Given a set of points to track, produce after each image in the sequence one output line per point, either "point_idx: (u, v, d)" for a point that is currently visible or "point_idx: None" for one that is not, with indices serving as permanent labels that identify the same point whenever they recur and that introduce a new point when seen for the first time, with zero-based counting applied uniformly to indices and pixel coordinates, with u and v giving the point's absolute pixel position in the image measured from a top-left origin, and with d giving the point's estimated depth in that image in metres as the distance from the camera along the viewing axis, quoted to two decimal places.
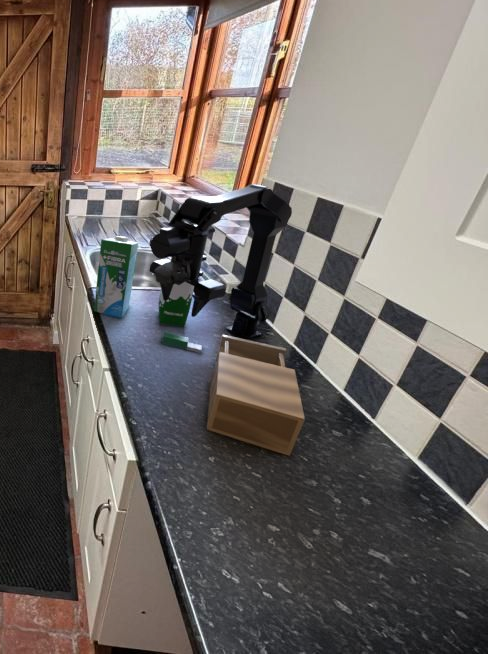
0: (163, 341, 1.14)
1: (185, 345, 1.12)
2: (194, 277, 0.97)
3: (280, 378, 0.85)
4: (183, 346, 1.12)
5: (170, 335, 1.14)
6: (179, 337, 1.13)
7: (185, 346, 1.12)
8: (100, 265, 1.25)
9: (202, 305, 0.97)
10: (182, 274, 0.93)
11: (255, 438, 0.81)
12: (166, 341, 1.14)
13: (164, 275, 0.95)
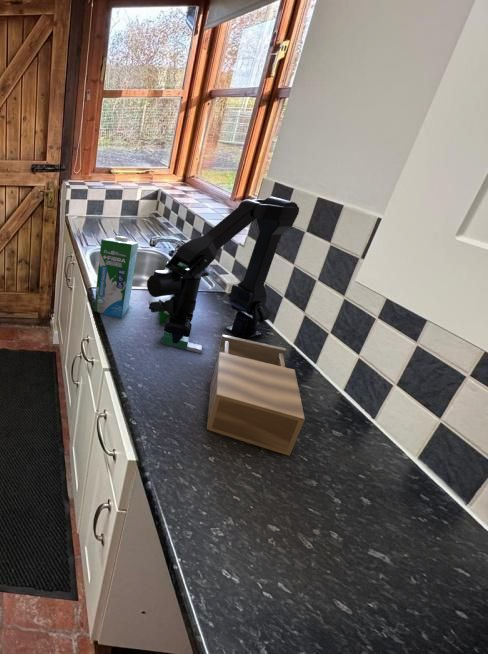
0: (163, 341, 1.14)
1: (185, 345, 1.12)
2: (179, 314, 1.07)
3: (280, 378, 0.85)
4: (183, 346, 1.12)
5: (170, 335, 1.14)
6: None
7: (185, 346, 1.12)
8: (100, 265, 1.25)
9: (179, 335, 1.10)
10: (156, 303, 1.08)
11: (255, 438, 0.81)
12: (166, 341, 1.14)
13: (149, 300, 1.12)
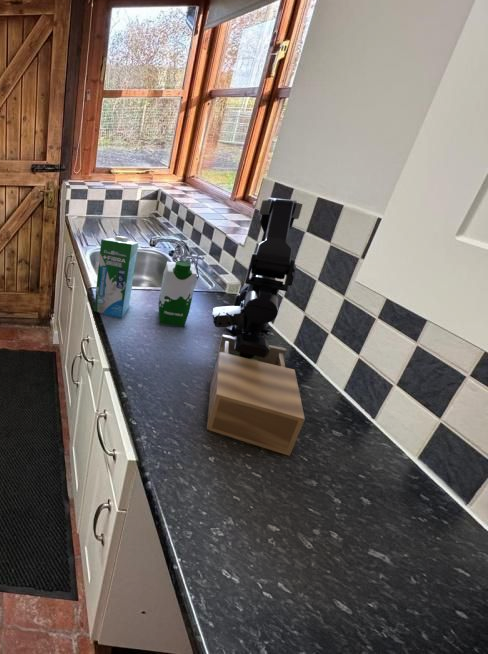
0: None
1: None
2: (251, 330, 0.92)
3: (280, 378, 0.85)
4: None
5: None
6: None
7: None
8: (100, 265, 1.25)
9: (249, 354, 0.94)
10: (224, 317, 0.93)
11: (255, 438, 0.81)
12: None
13: (213, 313, 0.96)
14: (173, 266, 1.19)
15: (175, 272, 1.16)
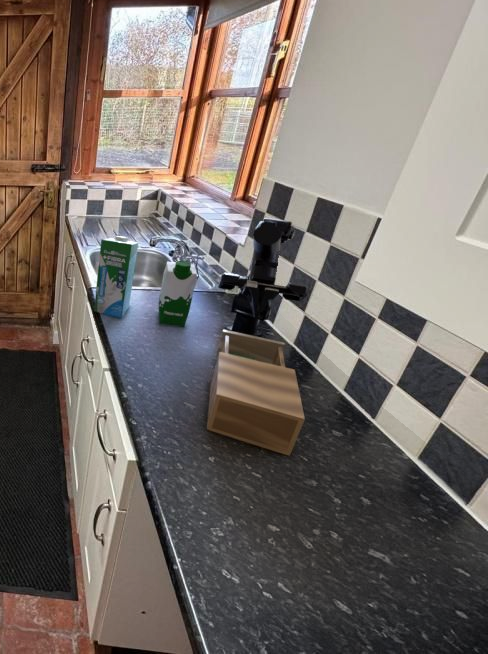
0: None
1: None
2: (248, 280, 1.07)
3: (280, 378, 0.85)
4: None
5: None
6: (244, 357, 1.01)
7: None
8: (100, 265, 1.25)
9: (252, 303, 1.03)
10: (239, 278, 1.13)
11: (255, 438, 0.81)
12: None
13: None
14: (173, 266, 1.19)
15: (175, 272, 1.16)
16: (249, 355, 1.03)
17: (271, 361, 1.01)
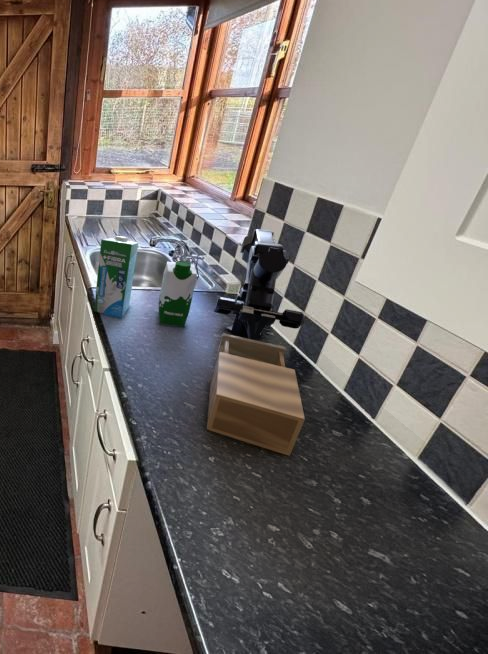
0: None
1: None
2: (245, 305, 1.05)
3: (280, 378, 0.85)
4: None
5: None
6: None
7: None
8: (100, 265, 1.25)
9: (248, 329, 1.02)
10: (236, 303, 1.12)
11: (255, 438, 0.81)
12: None
13: None
14: (173, 266, 1.19)
15: (175, 272, 1.16)
16: None
17: None
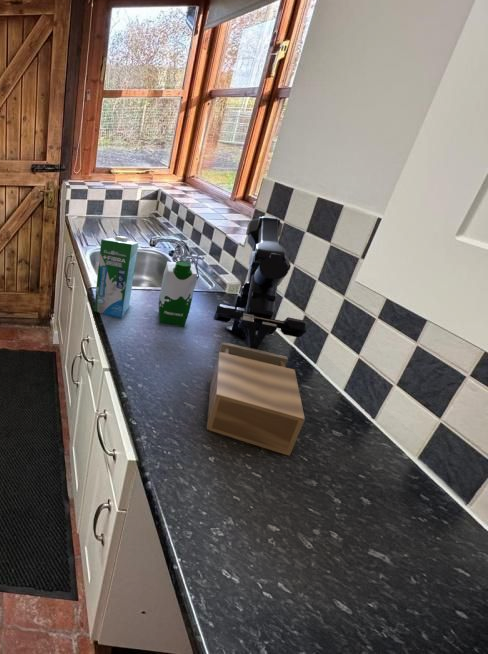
0: None
1: None
2: (245, 313, 1.02)
3: (280, 378, 0.85)
4: None
5: None
6: None
7: None
8: (100, 265, 1.25)
9: (248, 337, 0.99)
10: (236, 310, 1.08)
11: (255, 438, 0.81)
12: None
13: None
14: (173, 266, 1.19)
15: (175, 272, 1.16)
16: None
17: None
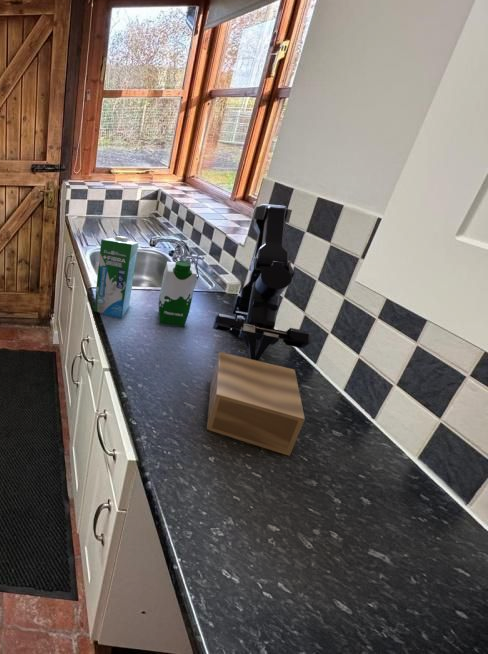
0: None
1: None
2: (245, 322, 0.97)
3: (280, 378, 0.85)
4: None
5: None
6: None
7: None
8: (100, 265, 1.25)
9: (249, 348, 0.94)
10: (236, 318, 1.04)
11: (255, 438, 0.81)
12: None
13: None
14: (173, 266, 1.19)
15: (175, 272, 1.16)
16: None
17: None
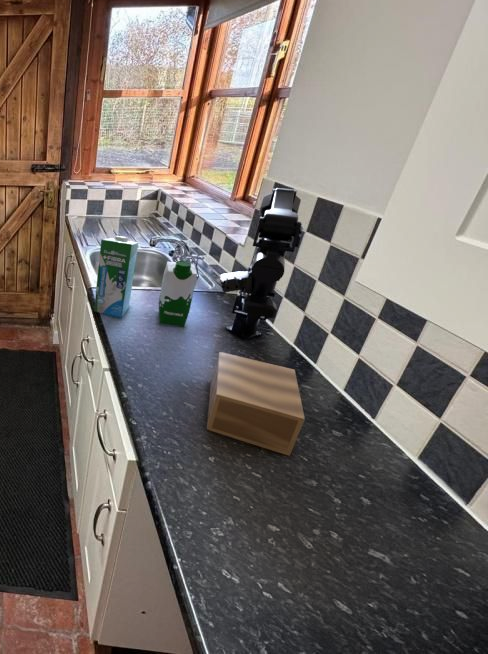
0: None
1: None
2: (258, 293, 0.94)
3: (280, 378, 0.85)
4: None
5: None
6: None
7: None
8: (100, 265, 1.25)
9: (256, 315, 0.98)
10: (232, 281, 0.95)
11: (255, 438, 0.81)
12: None
13: (221, 279, 0.99)
14: (173, 266, 1.19)
15: (175, 272, 1.16)
16: None
17: None
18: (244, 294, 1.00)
